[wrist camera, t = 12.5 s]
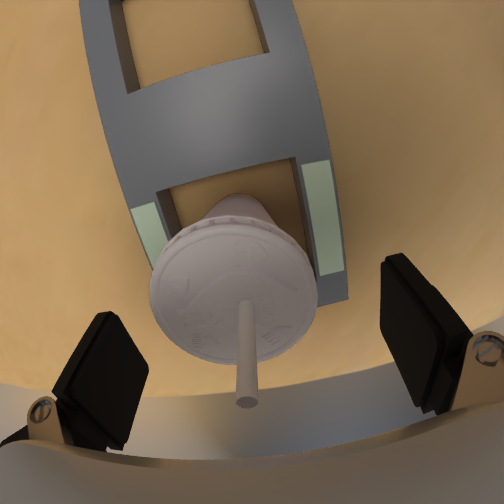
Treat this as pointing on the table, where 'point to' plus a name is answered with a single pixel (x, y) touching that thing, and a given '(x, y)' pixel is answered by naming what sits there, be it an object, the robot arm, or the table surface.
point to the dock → (218, 129)
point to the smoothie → (234, 290)
